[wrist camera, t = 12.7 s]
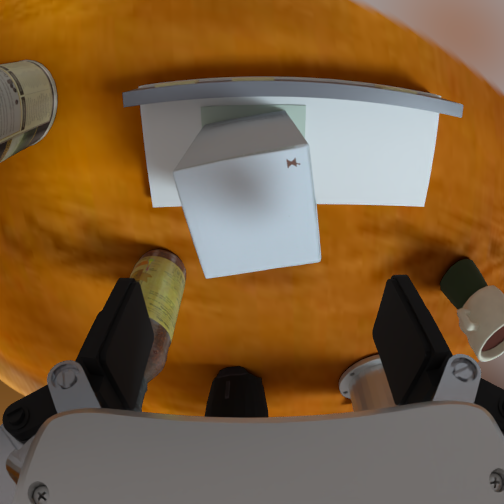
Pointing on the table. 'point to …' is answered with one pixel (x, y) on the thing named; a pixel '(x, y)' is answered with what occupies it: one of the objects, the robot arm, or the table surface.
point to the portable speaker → (236, 395)
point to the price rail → (289, 93)
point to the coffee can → (25, 105)
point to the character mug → (476, 308)
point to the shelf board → (317, 136)
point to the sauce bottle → (159, 306)
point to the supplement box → (249, 195)
